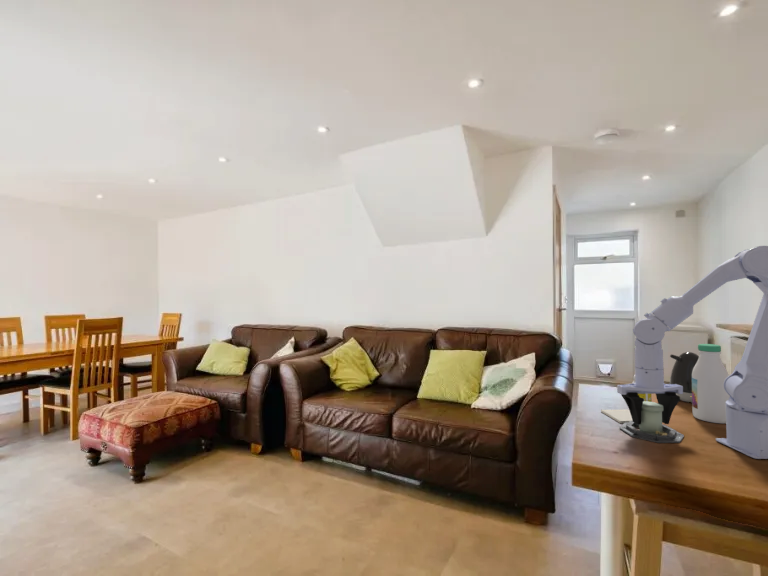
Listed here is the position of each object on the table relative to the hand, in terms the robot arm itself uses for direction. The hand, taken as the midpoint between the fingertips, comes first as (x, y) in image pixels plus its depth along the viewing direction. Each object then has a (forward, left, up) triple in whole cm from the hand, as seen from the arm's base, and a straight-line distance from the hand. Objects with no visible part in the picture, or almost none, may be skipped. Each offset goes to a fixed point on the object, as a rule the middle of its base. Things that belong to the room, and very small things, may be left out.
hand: (650, 422), depth 90 cm
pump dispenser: (+25, -29, -3) cm, 38 cm away
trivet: (+11, -1, -2) cm, 11 cm away
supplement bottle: (+23, -13, -3) cm, 27 cm away
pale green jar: (0, 0, -2) cm, 2 cm away
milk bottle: (+9, -22, -3) cm, 24 cm away
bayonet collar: (0, 0, -2) cm, 2 cm away
